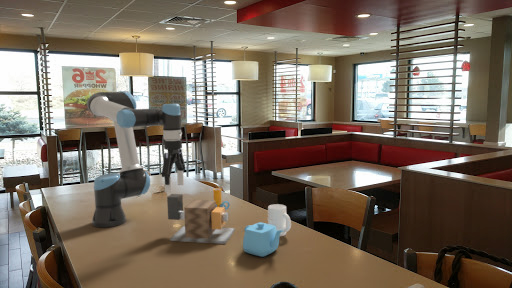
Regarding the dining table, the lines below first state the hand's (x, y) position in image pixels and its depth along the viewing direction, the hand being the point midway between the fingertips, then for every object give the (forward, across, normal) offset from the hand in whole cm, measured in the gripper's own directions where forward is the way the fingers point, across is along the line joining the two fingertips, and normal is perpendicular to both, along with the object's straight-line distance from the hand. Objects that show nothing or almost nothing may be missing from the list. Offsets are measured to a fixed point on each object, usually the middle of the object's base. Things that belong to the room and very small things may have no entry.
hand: (174, 188), depth 164 cm
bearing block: (+21, 0, -11) cm, 23 cm away
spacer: (+13, 0, -19) cm, 23 cm away
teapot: (+21, -14, -41) cm, 48 cm away
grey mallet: (+13, 0, -10) cm, 17 cm away
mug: (+21, +6, -45) cm, 50 cm away
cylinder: (+21, +23, -12) cm, 33 cm away
